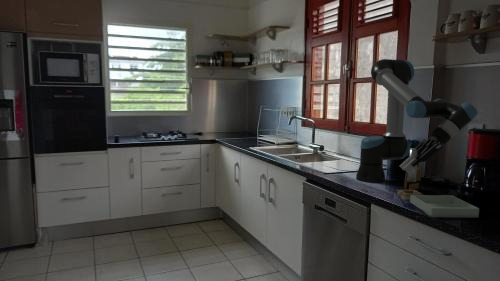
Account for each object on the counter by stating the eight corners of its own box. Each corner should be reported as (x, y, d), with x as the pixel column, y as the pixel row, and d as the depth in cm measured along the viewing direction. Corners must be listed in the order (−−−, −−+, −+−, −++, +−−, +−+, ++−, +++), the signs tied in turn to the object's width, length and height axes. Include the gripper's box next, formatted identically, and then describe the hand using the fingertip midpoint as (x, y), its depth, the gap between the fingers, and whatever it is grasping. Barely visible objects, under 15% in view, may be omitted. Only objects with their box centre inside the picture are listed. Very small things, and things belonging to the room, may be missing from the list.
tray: (409, 203, 155) (410, 195, 155) (451, 203, 156) (452, 195, 155) (431, 217, 138) (431, 208, 137) (478, 217, 138) (479, 208, 137)
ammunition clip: (417, 189, 179) (419, 165, 177) (421, 190, 177) (422, 166, 176) (403, 192, 174) (404, 167, 172) (406, 193, 172) (407, 168, 171)
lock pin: (405, 179, 163) (408, 148, 161) (413, 179, 163) (416, 149, 161) (409, 181, 159) (411, 150, 157) (417, 181, 159) (420, 150, 157)
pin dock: (397, 196, 166) (397, 189, 166) (414, 196, 166) (414, 189, 166) (404, 201, 158) (405, 194, 158) (422, 201, 159) (423, 194, 158)
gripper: (461, 141, 150) (417, 179, 152) (439, 136, 167) (401, 171, 169) (449, 128, 150) (406, 167, 152) (429, 124, 166) (390, 159, 168)
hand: (403, 169), depth 160 cm, fingers closed on lock pin, 3 cm apart
